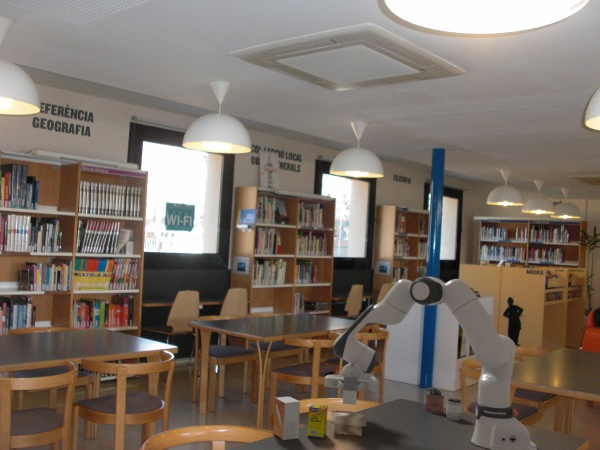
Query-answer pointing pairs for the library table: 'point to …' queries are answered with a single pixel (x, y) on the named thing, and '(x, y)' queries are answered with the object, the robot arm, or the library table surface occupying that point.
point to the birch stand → (348, 423)
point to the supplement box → (317, 421)
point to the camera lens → (454, 409)
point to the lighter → (434, 401)
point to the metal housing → (350, 389)
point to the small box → (286, 418)
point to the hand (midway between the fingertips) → (350, 386)
